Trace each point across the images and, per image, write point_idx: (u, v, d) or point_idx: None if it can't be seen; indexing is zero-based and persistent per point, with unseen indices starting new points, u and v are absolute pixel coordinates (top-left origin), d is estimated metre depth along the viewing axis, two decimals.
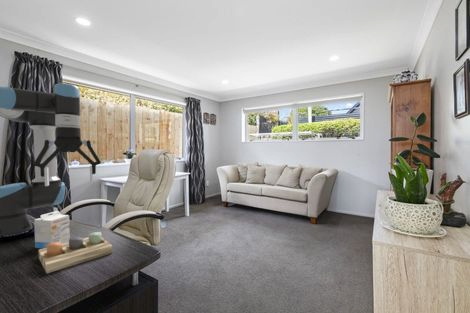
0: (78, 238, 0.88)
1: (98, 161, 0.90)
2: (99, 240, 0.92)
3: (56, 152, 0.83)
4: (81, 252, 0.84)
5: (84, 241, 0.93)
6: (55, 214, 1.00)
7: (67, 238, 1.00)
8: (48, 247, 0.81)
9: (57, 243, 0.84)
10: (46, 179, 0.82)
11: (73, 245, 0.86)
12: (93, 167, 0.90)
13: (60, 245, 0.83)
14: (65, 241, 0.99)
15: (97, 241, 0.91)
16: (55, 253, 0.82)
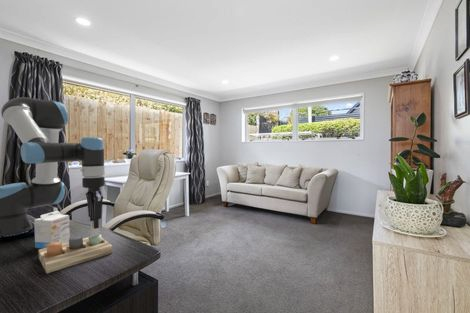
0: (78, 238, 0.88)
1: (93, 217, 0.89)
2: (99, 243, 0.92)
3: (89, 202, 0.92)
4: (81, 252, 0.84)
5: (84, 241, 0.93)
6: (55, 214, 0.99)
7: (67, 238, 1.00)
8: (48, 247, 0.81)
9: (57, 243, 0.84)
10: (91, 230, 0.92)
11: (73, 245, 0.86)
12: (94, 222, 0.91)
13: (60, 245, 0.83)
14: (65, 241, 0.99)
15: (97, 243, 0.91)
16: (55, 253, 0.82)
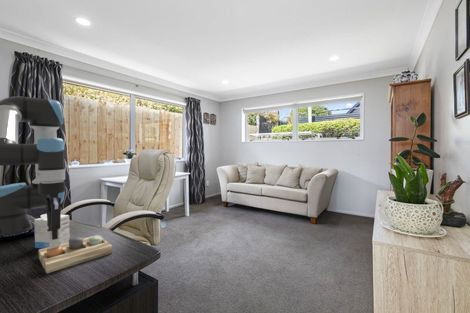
0: (78, 238, 0.88)
1: (51, 227, 0.80)
2: None
3: (47, 210, 0.82)
4: (81, 252, 0.84)
5: (84, 241, 0.93)
6: None
7: (67, 238, 1.00)
8: (48, 251, 0.81)
9: None
10: (49, 241, 0.82)
11: (73, 245, 0.86)
12: (52, 232, 0.81)
13: (60, 249, 0.83)
14: (65, 241, 0.99)
15: None
16: None
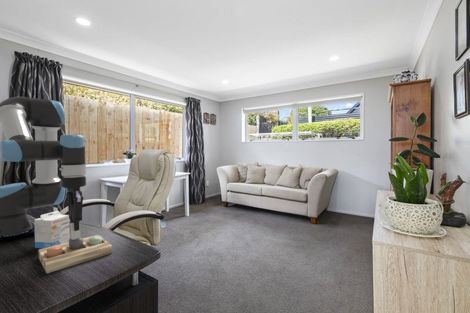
0: None
1: (73, 219, 0.84)
2: None
3: (69, 203, 0.87)
4: (81, 252, 0.84)
5: (84, 241, 0.93)
6: (55, 214, 1.00)
7: (67, 238, 1.00)
8: (48, 252, 0.81)
9: (58, 247, 0.84)
10: (71, 233, 0.87)
11: (73, 246, 0.86)
12: (74, 224, 0.86)
13: (60, 249, 0.83)
14: (65, 241, 0.99)
15: None
16: None
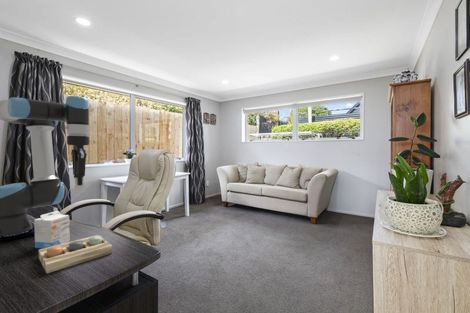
0: (78, 242, 0.88)
1: (77, 174, 0.92)
2: None
3: (73, 160, 0.95)
4: (81, 252, 0.84)
5: (84, 241, 0.93)
6: (55, 214, 0.99)
7: (67, 238, 1.00)
8: (48, 252, 0.81)
9: (58, 247, 0.84)
10: (75, 187, 0.95)
11: (74, 250, 0.86)
12: (77, 179, 0.94)
13: (60, 249, 0.83)
14: (65, 241, 0.99)
15: None
16: None
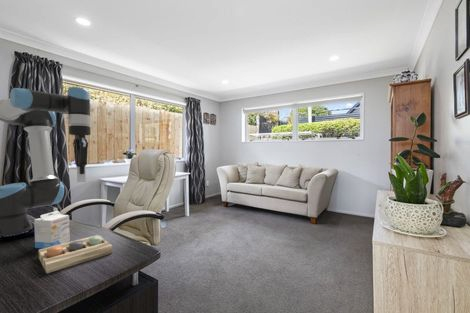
0: (78, 242, 0.88)
1: (79, 162, 0.95)
2: None
3: (75, 149, 0.97)
4: (81, 252, 0.84)
5: (84, 241, 0.93)
6: (55, 214, 0.99)
7: (67, 238, 1.00)
8: (48, 252, 0.81)
9: (58, 247, 0.84)
10: (77, 176, 0.97)
11: (74, 250, 0.86)
12: (79, 167, 0.97)
13: (60, 249, 0.83)
14: (65, 241, 0.99)
15: None
16: None
